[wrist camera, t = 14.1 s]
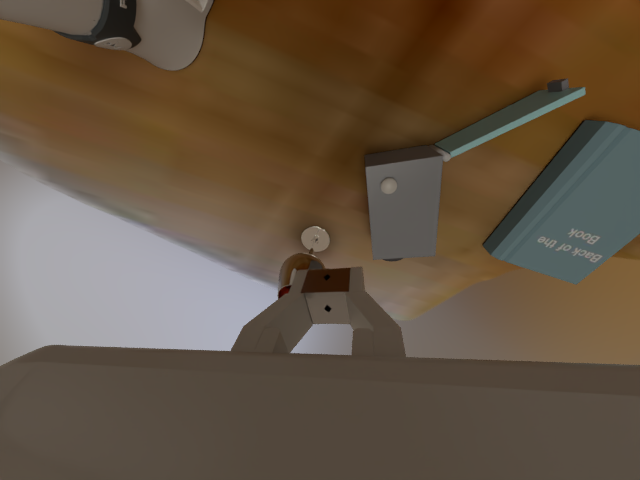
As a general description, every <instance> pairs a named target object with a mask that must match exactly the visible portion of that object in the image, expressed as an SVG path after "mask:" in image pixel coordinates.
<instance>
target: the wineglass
mask: <svg viewBox="0 0 640 480" xmlns="http://www.w3.org/2000/svg"><path fill="white" fill-rule="evenodd" d="M301 240H302V243H303V245H304V246H305V247H306V248H307V249H309V250H310V251H309V254H308V253H298V254H294V255H292V256H290V257H289V258H287V259H286V260H285V262H284V263H283V265H282V267H281V269H280V274H279V283H278V299H279V298H281V297H282V296H283V295H284V294H288V293H289V291H290V288H291V286H292V283H293V280H294V278H295V275H296V273H297V271H298V270H309V269H326V268H325V266H324V264H323V263H322V262H321V260H320V259H318V258H317V257H316V256H314V255H312V254H313V251H314V252H319V251H323V250H325V249H326V248H327V247H328V246H329V243H330V237H329V235H328V233H327V232H326V231H325V230H324V229H322V228H320V227H316V226H312V227H309V228H307V229H305V230H304V231H303V233H302V236H301Z"/></svg>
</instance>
